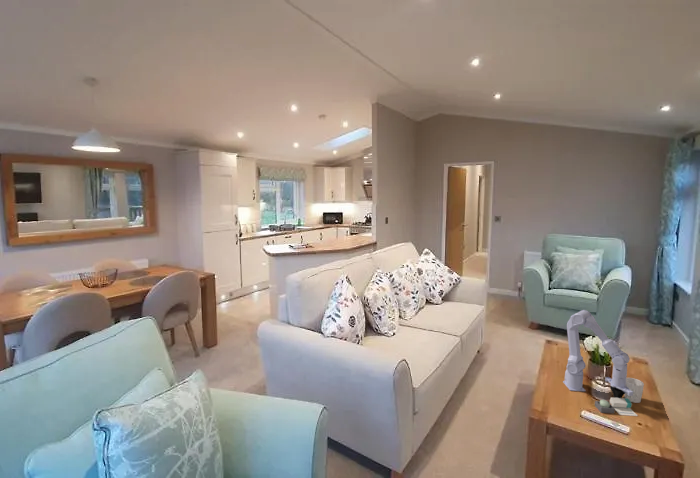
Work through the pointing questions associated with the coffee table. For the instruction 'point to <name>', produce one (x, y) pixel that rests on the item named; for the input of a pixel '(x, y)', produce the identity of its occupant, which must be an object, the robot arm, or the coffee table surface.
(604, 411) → the button housing
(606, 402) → the button
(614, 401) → the eraser
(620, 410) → the paper
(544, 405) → the coffee table surface
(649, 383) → the coffee table surface
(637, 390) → the white cup
